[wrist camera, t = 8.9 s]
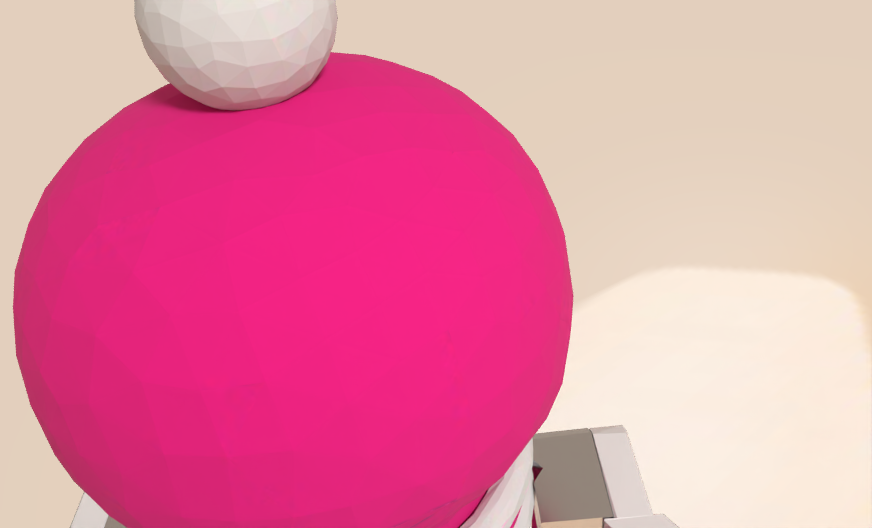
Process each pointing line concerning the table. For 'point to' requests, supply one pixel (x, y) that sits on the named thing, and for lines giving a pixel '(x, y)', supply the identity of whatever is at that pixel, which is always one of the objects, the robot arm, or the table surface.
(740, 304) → the table surface
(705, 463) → the table surface
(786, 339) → the table surface
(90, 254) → the pepper mill
